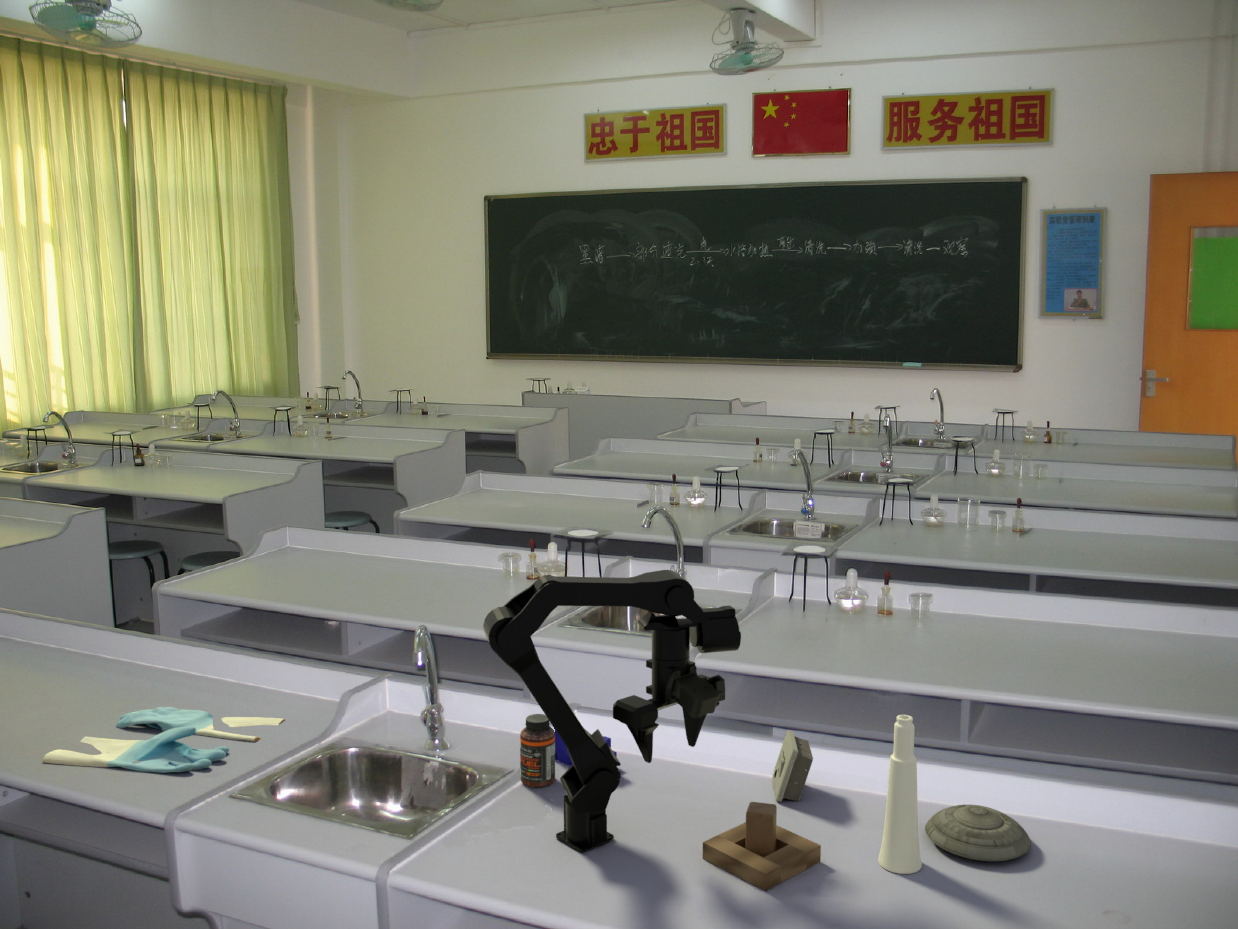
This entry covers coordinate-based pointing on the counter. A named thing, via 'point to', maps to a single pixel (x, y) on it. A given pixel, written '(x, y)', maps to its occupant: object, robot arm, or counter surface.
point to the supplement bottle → (537, 752)
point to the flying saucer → (978, 833)
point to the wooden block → (761, 828)
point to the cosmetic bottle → (901, 804)
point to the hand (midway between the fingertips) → (670, 754)
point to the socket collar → (754, 868)
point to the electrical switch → (792, 768)
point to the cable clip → (562, 752)
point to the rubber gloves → (160, 742)
